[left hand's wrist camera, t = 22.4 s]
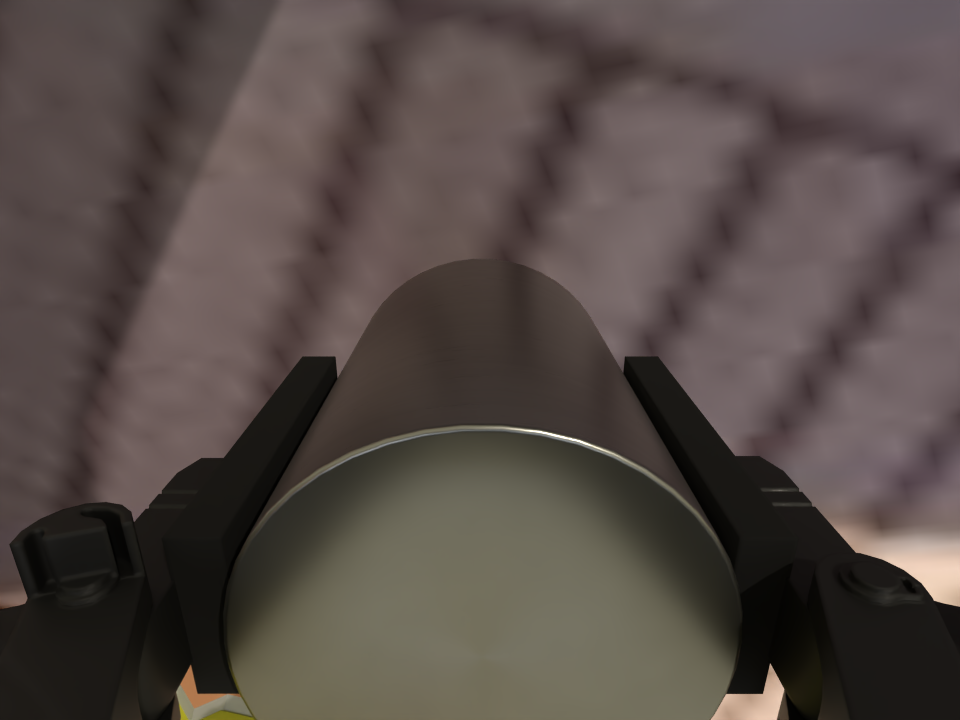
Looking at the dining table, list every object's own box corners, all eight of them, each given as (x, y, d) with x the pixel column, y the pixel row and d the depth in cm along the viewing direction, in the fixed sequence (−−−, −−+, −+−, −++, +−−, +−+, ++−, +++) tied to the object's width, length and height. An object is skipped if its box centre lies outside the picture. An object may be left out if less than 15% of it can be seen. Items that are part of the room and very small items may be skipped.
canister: (391, 505, 17) (311, 850, 9) (325, 286, 15) (135, 482, 7) (620, 466, 17) (754, 793, 9) (588, 234, 15) (731, 375, 6)
